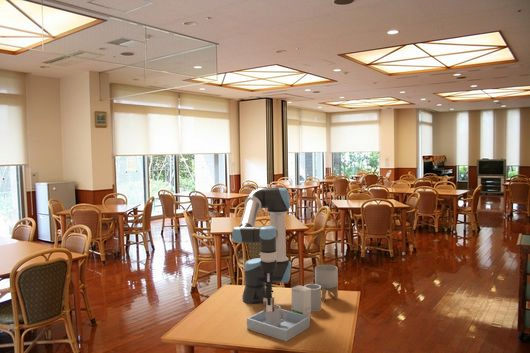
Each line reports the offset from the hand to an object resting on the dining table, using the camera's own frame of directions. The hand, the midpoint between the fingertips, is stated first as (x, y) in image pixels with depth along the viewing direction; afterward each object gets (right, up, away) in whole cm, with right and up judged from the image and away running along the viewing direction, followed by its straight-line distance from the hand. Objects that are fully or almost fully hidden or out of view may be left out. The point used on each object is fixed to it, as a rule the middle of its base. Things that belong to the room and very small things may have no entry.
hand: (269, 308), depth 202 cm
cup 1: (+3, -11, +10) cm, 15 cm away
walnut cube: (0, 0, 0) cm, 0 cm away
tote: (+4, -12, +8) cm, 15 cm away
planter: (+34, -9, +48) cm, 59 cm away
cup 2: (+24, -10, +33) cm, 42 cm away
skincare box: (+17, -11, +20) cm, 29 cm away
